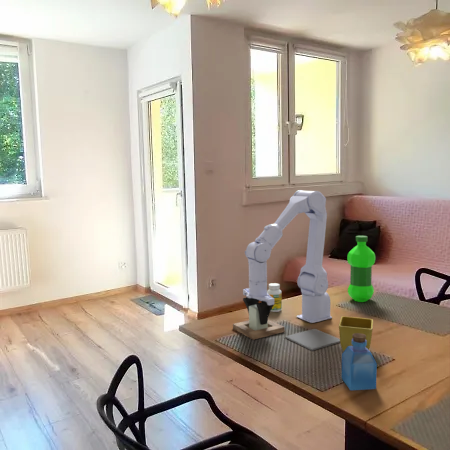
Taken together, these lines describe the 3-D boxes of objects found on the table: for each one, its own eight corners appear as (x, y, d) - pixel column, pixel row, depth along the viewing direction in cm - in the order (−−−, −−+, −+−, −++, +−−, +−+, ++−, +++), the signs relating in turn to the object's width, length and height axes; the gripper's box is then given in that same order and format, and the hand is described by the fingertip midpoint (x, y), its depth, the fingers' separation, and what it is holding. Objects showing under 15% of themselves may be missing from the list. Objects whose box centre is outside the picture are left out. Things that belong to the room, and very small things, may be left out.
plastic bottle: (344, 296, 183) (345, 234, 180) (371, 296, 182) (372, 234, 179) (348, 303, 173) (349, 238, 170) (377, 304, 172) (378, 238, 169)
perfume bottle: (341, 378, 113) (342, 331, 111) (365, 377, 113) (366, 330, 112) (350, 390, 107) (351, 341, 105) (376, 388, 107) (377, 339, 106)
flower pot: (372, 349, 130) (373, 318, 129) (371, 361, 122) (372, 328, 121) (341, 345, 133) (341, 315, 132) (338, 357, 125) (338, 325, 124)
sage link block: (260, 327, 150) (260, 303, 149) (267, 330, 147) (267, 306, 146) (249, 329, 148) (248, 305, 147) (256, 333, 144) (255, 309, 143)
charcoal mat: (314, 330, 146) (314, 328, 146) (342, 341, 136) (342, 340, 136) (285, 337, 140) (285, 336, 140) (311, 350, 130) (311, 349, 130)
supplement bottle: (275, 306, 171) (275, 281, 170) (284, 310, 167) (284, 284, 166) (264, 309, 168) (263, 284, 167) (273, 313, 164) (273, 287, 163)
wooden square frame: (263, 321, 155) (263, 317, 155) (284, 331, 145) (284, 326, 145) (232, 328, 149) (232, 323, 149) (253, 339, 139) (253, 334, 139)
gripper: (235, 277, 149) (235, 317, 151) (260, 286, 137) (261, 330, 139) (252, 274, 153) (253, 313, 154) (279, 283, 140) (279, 326, 142)
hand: (258, 321), depth 147 cm, fingers open, 5 cm apart
